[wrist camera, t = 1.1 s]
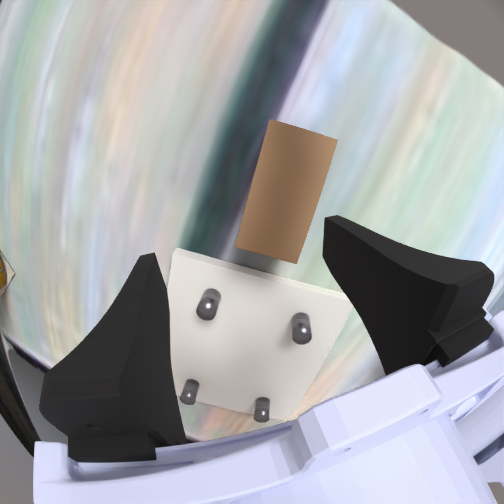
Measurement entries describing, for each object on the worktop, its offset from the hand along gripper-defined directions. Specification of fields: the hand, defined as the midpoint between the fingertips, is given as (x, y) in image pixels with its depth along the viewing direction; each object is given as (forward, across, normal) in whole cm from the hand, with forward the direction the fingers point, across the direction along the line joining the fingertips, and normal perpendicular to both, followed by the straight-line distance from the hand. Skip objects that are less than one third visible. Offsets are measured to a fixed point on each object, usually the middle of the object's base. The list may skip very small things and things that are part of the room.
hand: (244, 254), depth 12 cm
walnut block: (+11, -5, +2) cm, 12 cm away
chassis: (+8, 0, +18) cm, 20 cm away
